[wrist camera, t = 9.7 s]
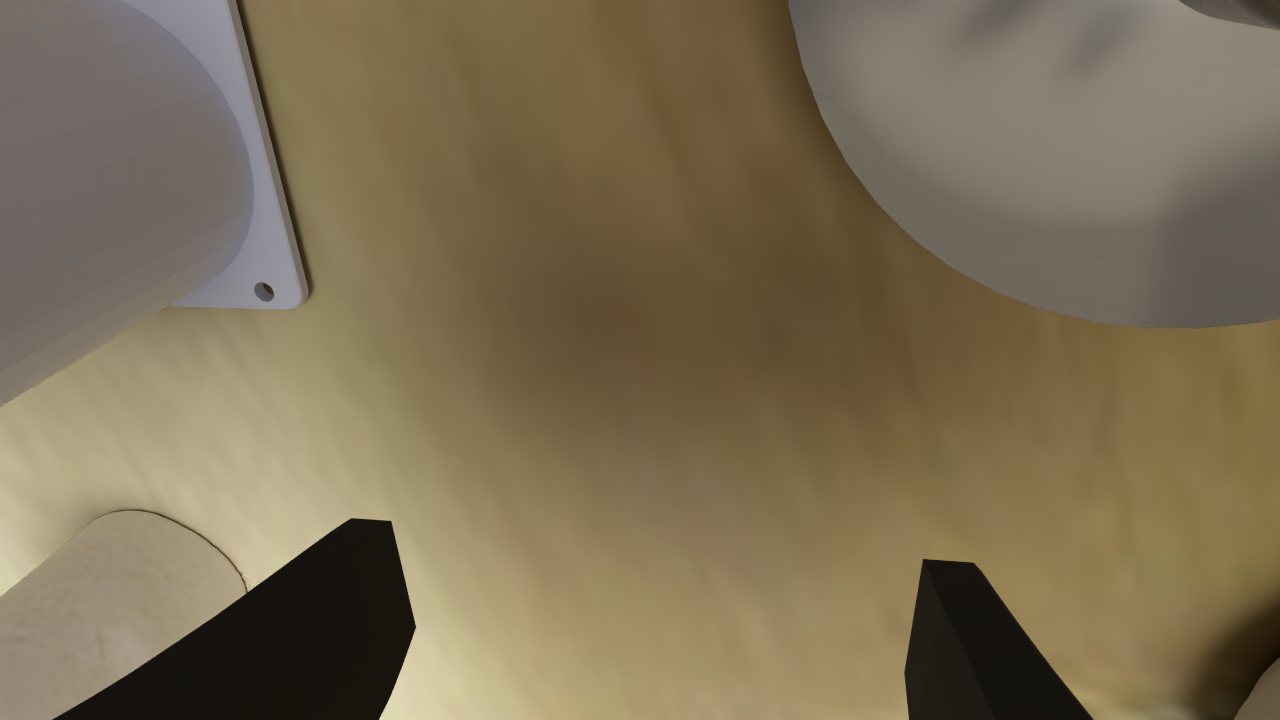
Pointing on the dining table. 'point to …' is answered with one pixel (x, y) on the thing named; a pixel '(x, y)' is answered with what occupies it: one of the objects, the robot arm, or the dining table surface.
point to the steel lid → (1068, 145)
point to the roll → (105, 610)
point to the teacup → (1263, 697)
